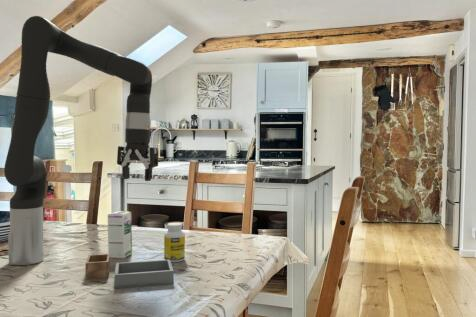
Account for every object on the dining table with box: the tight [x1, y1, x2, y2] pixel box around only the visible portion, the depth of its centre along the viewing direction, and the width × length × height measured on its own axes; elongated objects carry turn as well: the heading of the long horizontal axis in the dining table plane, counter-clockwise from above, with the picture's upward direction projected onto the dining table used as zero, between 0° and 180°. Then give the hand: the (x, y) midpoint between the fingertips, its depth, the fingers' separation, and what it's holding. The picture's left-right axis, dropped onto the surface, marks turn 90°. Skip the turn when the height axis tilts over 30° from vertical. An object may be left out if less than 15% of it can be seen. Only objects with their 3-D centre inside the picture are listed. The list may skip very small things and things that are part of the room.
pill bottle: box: [163, 222, 186, 263], centre depth 132 cm, size 6×6×12 cm
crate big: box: [114, 259, 174, 289], centre depth 114 cm, size 15×11×4 cm
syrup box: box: [107, 210, 133, 259], centre depth 137 cm, size 6×6×14 cm
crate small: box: [85, 253, 111, 280], centre depth 118 cm, size 6×8×4 cm
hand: (136, 179), depth 130 cm, fingers open, 8 cm apart
